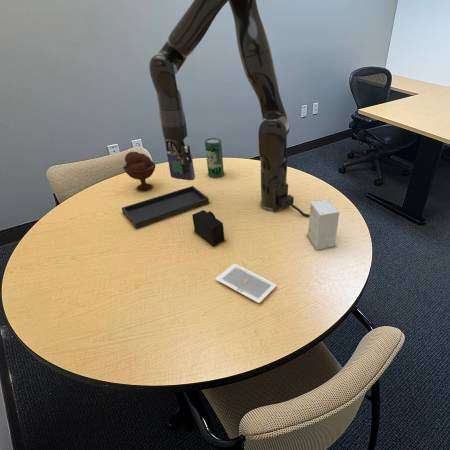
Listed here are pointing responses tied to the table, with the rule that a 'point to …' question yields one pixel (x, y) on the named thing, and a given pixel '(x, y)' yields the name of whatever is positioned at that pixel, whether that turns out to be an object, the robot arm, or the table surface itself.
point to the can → (214, 157)
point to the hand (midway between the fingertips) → (180, 169)
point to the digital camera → (208, 227)
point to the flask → (179, 167)
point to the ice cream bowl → (139, 168)
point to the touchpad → (246, 282)
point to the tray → (164, 206)
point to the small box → (323, 224)
